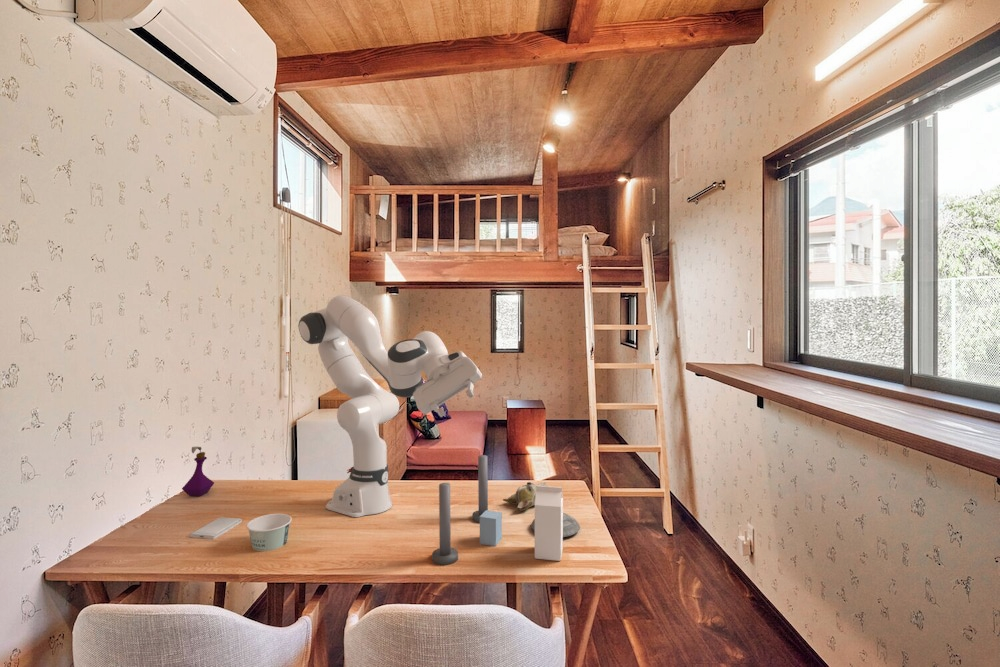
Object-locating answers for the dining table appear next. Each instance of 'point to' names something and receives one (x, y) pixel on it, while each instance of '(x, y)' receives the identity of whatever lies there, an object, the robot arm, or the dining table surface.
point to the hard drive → (216, 528)
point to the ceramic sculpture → (524, 496)
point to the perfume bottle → (198, 477)
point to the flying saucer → (566, 525)
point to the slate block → (490, 528)
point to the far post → (482, 487)
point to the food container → (269, 531)
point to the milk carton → (548, 523)
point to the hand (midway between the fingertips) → (456, 405)
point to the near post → (444, 530)
